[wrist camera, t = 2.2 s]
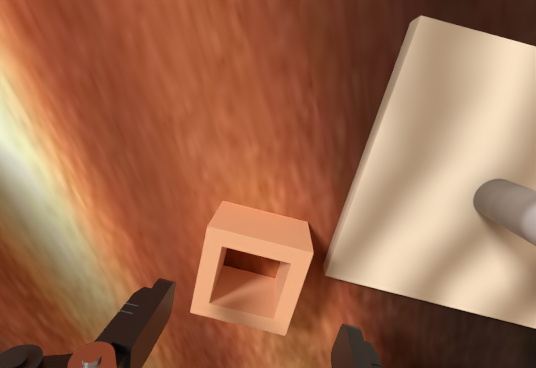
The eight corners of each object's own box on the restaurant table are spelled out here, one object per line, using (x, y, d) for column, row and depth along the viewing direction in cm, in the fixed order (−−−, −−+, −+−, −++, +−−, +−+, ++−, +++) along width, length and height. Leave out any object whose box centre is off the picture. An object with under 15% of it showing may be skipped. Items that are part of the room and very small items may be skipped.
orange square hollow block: (207, 272, 20) (190, 312, 17) (223, 200, 19) (207, 226, 15) (284, 292, 21) (285, 335, 17) (307, 222, 19) (313, 253, 15)
